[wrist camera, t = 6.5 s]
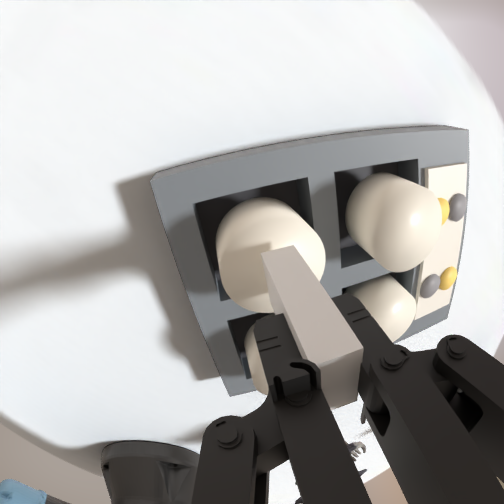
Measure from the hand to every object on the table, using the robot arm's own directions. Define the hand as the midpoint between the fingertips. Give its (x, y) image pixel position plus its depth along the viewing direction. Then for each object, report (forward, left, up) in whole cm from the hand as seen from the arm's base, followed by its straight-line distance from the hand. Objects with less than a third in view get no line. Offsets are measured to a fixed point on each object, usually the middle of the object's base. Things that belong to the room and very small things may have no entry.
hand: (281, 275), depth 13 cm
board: (+6, -4, -6) cm, 10 cm away
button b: (0, 0, -4) cm, 4 cm away
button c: (+8, -8, -6) cm, 13 cm away
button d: (+8, 0, -4) cm, 9 cm away
